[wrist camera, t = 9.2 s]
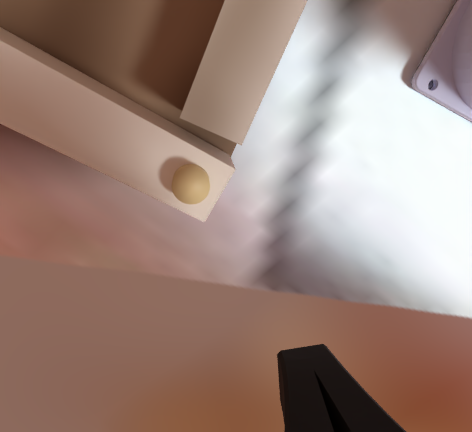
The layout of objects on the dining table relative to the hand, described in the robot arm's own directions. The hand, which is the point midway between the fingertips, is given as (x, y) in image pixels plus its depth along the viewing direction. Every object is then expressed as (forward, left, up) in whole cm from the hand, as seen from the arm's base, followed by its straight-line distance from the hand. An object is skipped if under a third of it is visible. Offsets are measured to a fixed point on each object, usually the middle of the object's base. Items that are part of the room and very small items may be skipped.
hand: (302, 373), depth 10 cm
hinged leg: (+8, -3, -8) cm, 12 cm away
